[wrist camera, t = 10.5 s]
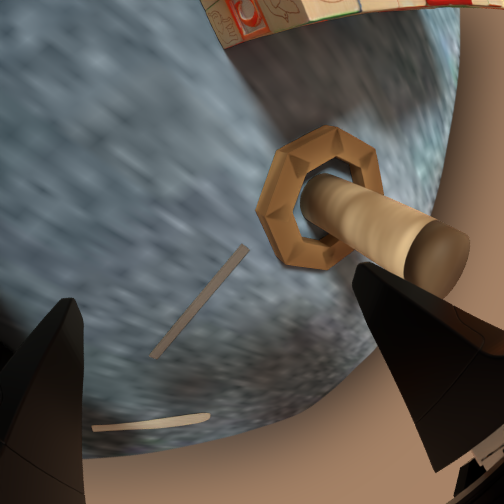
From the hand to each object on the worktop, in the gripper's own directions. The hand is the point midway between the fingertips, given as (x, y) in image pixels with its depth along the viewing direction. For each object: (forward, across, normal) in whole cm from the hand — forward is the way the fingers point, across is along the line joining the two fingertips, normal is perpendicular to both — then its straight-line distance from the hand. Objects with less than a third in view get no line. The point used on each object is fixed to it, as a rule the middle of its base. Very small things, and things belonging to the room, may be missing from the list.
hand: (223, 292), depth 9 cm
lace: (+11, 0, +11) cm, 16 cm away
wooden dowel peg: (+14, -10, +4) cm, 18 cm away
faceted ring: (+14, -10, +4) cm, 18 cm away
